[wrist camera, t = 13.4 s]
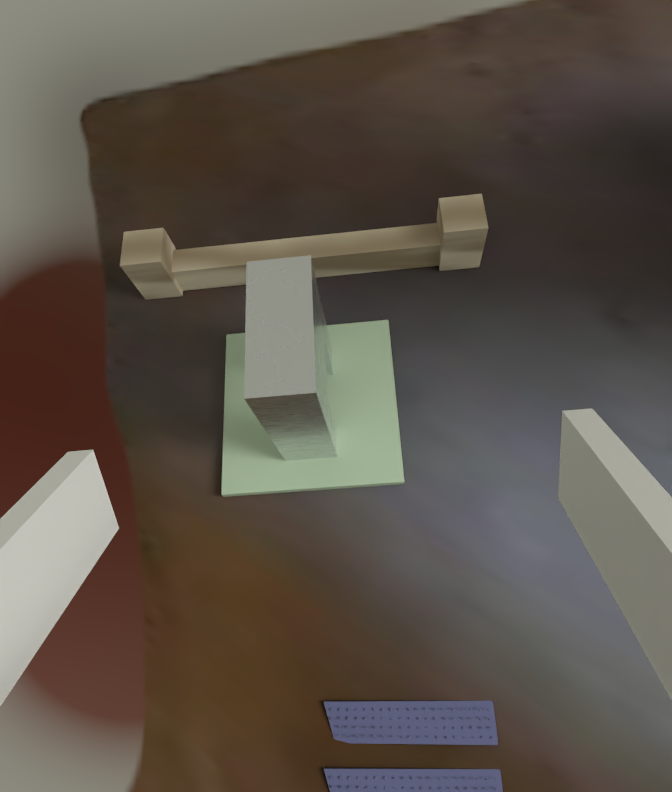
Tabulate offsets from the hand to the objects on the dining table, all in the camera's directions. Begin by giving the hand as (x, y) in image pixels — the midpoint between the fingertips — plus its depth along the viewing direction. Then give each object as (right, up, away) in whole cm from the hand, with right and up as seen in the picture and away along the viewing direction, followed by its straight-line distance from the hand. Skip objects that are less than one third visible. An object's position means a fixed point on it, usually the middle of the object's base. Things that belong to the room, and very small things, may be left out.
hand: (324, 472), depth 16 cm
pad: (-1, +1, +23) cm, 23 cm away
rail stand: (-2, +12, +28) cm, 30 cm away
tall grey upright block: (-1, +2, +23) cm, 23 cm away
